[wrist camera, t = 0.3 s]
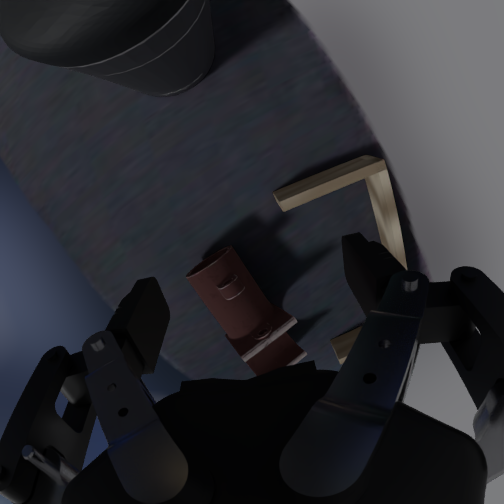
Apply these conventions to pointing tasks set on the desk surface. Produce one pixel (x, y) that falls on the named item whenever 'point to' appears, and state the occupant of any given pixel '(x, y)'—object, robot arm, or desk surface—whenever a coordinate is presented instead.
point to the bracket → (245, 312)
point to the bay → (381, 203)
